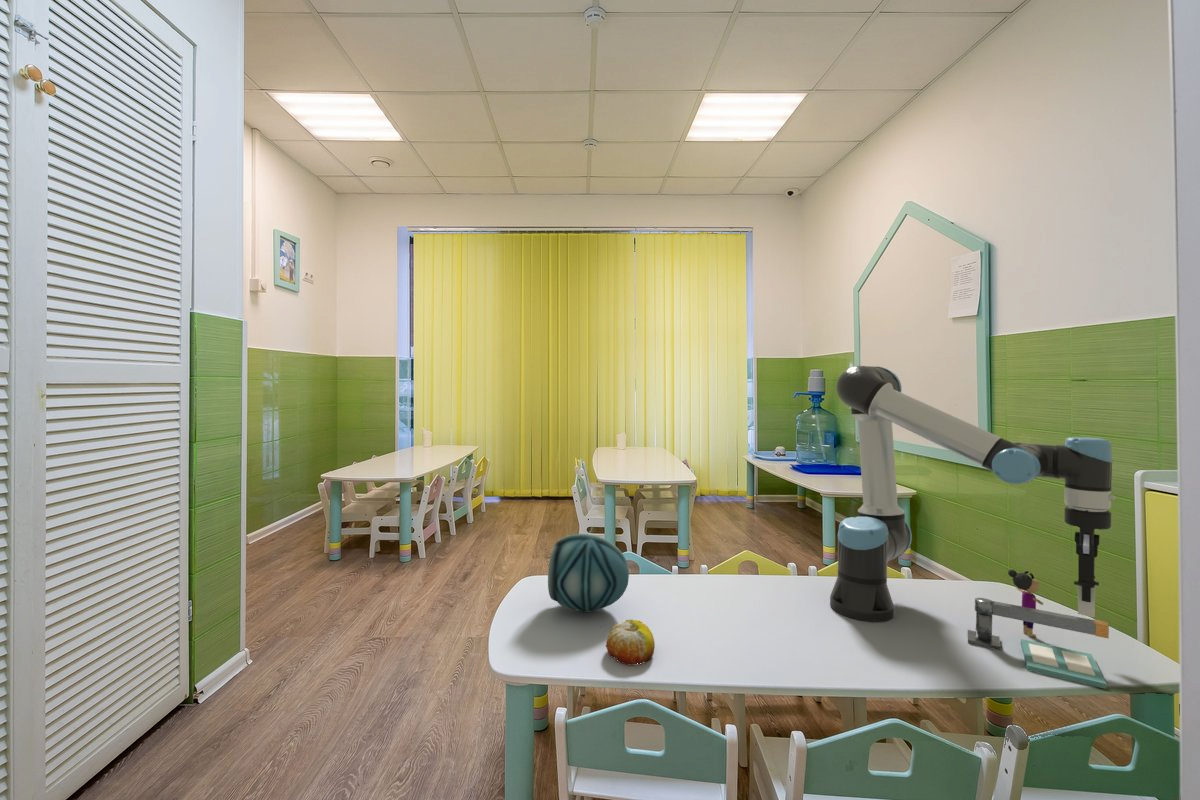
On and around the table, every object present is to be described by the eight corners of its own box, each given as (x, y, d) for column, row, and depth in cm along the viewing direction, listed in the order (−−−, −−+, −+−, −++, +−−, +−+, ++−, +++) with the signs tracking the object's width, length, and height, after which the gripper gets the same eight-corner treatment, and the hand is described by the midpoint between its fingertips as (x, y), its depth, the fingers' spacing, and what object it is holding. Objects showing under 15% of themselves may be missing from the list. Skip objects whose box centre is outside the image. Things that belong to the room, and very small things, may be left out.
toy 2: (1051, 646, 119) (1052, 580, 119) (1023, 643, 120) (1024, 578, 120) (1023, 625, 129) (1025, 565, 129) (998, 623, 130) (999, 563, 130)
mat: (1027, 669, 109) (1027, 663, 109) (1020, 643, 120) (1020, 637, 120) (1106, 689, 102) (1106, 682, 102) (1091, 658, 114) (1091, 652, 114)
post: (967, 643, 120) (968, 614, 120) (967, 633, 125) (968, 605, 125) (1000, 650, 117) (1001, 621, 117) (999, 639, 122) (999, 611, 122)
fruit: (603, 639, 120) (614, 606, 120) (647, 653, 120) (657, 620, 120) (602, 664, 109) (614, 627, 109) (650, 680, 109) (662, 643, 109)
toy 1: (560, 594, 147) (560, 523, 147) (631, 598, 144) (631, 526, 144) (544, 624, 129) (544, 543, 128) (625, 629, 126) (625, 547, 125)
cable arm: (974, 612, 120) (975, 601, 120) (974, 607, 123) (974, 596, 123) (1109, 639, 108) (1109, 626, 108) (1105, 633, 111) (1105, 620, 111)
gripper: (1111, 515, 108) (1109, 629, 108) (1111, 506, 117) (1110, 610, 117) (1062, 510, 113) (1061, 618, 113) (1066, 501, 122) (1065, 601, 123)
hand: (1086, 614), depth 115 cm, fingers closed
